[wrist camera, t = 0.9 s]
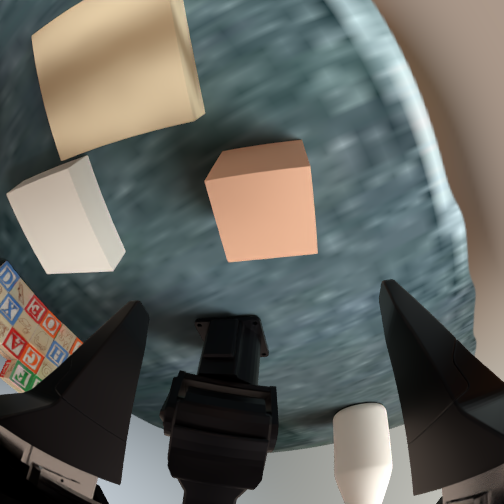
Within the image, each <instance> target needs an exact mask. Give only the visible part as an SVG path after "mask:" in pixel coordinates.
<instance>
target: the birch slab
mask: <svg viewBox="0 0 504 504" xmlns="http://www.w3.org/2000/svg"><path fill="white" fill-rule="evenodd" d="M32 44H33V51H34V58H35V63H36V69H37V74H38V79H39V84H40V89H41V93H42V97H43V101H44V105H45V109H46V113H47V117H48V120H49V124H50V127H51V131H52V134H53V137H54V141H55V144H56V147H57V150H58V153H59V156H60V159H61V161H63V160H65V159H68V158H70V157H73V156H76V155H78V154H81V153H84V152H86V151H89V150H92V149H95V148H98V147H101V146H104V145H107V144H110V143H113V142H116V141H119V140H122V139H126V138H129V137H132V136H136V135H139V134H143V133H147V132H150V131H154V130H158V129H162V128H166V127H170V126H175V125H179V124H183V123H188V122H193V121H195V120H196V119H198V118H199V117H201V116H202V115H204V114H205V109H204V104H203V99H202V95H201V90H200V85H199V80H198V75H197V70H196V65H195V60H194V55H193V50H192V45H191V40H190V34H189V29H188V24H187V19H186V13H185V8H184V3H183V0H84V1H82V2H80V3H78V4H77V5H75V6H74V7H72V8H70V9H69V10H67V11H66V12H64V13H63V14H61V15H60V16H58V17H57V18H55V19H54V20H52V21H51V22H50V23H48V24H47V25H45V26H44V27H43V28H41V29H40V30H39V31H37V32H36V33H35V34H34V35H32Z"/></svg>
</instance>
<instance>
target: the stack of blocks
mask: <svg viewBox="0 0 504 504" xmlns="http://www.w3.org/2000/svg"><path fill="white" fill-rule="evenodd" d="M82 344H83V342H82V341H81V340H80V339H78V338H77V337H76V336H75V335H74V334H73V333H72V332H71V331H70V330H69V329H68V328H67V327H66V326H65V325H64V324H62V323H61V321H60V320H58V319H57V318H56V317H55V315H53V314H52V312H51V311H50V310H48V308H47V307H46V306H45V305H44V304H43V303H42V302H41V301H40V300H39V299H38V298H37V296H36V295H35V294H34V293H33V292H32V291H31V289H30V288H29V287H28V286H27V285H26V284H25V282H24V281H23V280H22V279H21V278H20V276H19V275H18V274H17V272H16V271H15V270H14V269H13V267H12V266H11V265H10V263H9V262H8V261H5V262H4V263H3V264H2V265H1V266H0V354H1V355H2V356H3V357H4V358H6V359H7V361H6V363H5V365H4V367H3V369H2V371H1V373H0V378H1V379H2V380H4V381H5V382H6V383H7V384H8V385H10V386H11V387H12V388H13V389H15V390H16V391H17V392H18V393H23V392H27V391H29V390H31V389H32V388H34V387H35V386H36V385H37V384H38V383H40V382H41V381H42V380H43V379H44V378H46V377H47V376H48V375H49V374H50V373H52V372H53V371H54V370H55V369H56V368H57V367H59V366H60V365H61V364H62V363H63V362H64V361H65V360H66V359H67V358H68V357H69V356H70V355H72V353H73V352H75V351H76V350H77V349H78V348H79V347H80V346H81V345H82Z"/></svg>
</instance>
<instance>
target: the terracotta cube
mask: <svg viewBox="0 0 504 504" xmlns="http://www.w3.org/2000/svg"><path fill="white" fill-rule="evenodd" d="M205 185H206V188H207V192H208V195H209V199H210V202H211V206H212V209H213V213H214V216H215V220H216V223H217V226H218V230H219V233H220V237H221V240H222V243H223V247H224V250H225V253H226V257H227V260H228V262H236V261H247V260H257V259H267V258H278V257H288V256H298V255H308V254H318V252H317V236H316V223H315V210H314V199H313V188H312V178H311V169H310V164H309V161H308V158H307V154H306V151H305V148H304V145H303V142H302V140H295V141H286V142H278V143H271V144H263V145H257V146H250V147H244V148H238V149H232V150H226V151H222V153H221V154H220V156H219V157H218V159H217V161H216V162H215V164H214V166H213V167H212V169H211V171H210V172H209V174H208V176H207V177H206V179H205Z"/></svg>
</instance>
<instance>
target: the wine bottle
mask: <svg viewBox="0 0 504 504" xmlns="http://www.w3.org/2000/svg"><path fill="white" fill-rule="evenodd" d="M333 432H334V464H335V465H334V468H335V469H334V471H335V480H336V482H337V485H338V488H339V490H340V493H341V495H342V497H343V500H344V502H345V504H382V501H383V498H384V495H385V492H386V489H387V485H388V482H389V479H390V475H391V470H392V454H391V444H390V435H389V427H388V420H387V413H386V409H385V407H384V406H383V405H381V404H378V403H364V404H358V405H354V406H350V407H347V408H345V409H342V410H340V411H339V412H338V413H337V414H336V415H335V416H334V418H333Z"/></svg>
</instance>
